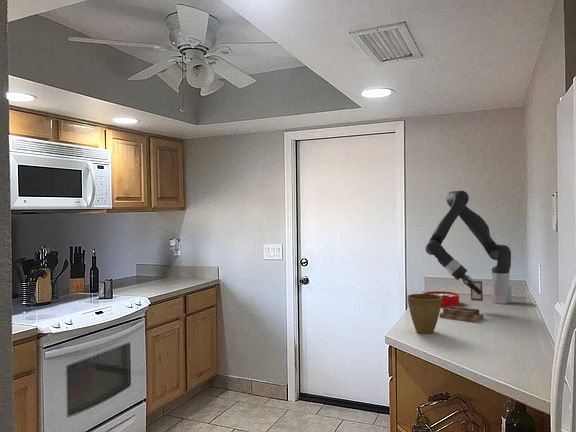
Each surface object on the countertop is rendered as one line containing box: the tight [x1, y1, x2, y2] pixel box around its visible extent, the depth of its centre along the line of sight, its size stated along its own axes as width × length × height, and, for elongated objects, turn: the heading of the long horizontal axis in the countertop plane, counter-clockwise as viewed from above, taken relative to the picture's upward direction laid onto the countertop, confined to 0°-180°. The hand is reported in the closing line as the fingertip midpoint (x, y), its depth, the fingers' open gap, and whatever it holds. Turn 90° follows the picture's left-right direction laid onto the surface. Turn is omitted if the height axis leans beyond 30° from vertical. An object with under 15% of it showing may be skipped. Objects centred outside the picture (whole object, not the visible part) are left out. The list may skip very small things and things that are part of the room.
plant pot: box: [407, 293, 442, 335], centre depth 212 cm, size 15×15×16 cm
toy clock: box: [422, 290, 460, 308], centre depth 274 cm, size 20×6×20 cm
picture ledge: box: [439, 306, 484, 323], centre depth 236 cm, size 18×10×4 cm, turn 44°
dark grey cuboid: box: [470, 280, 484, 302], centre depth 249 cm, size 6×4×10 cm, turn 64°
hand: (480, 292), depth 248 cm, fingers closed on dark grey cuboid, 3 cm apart
